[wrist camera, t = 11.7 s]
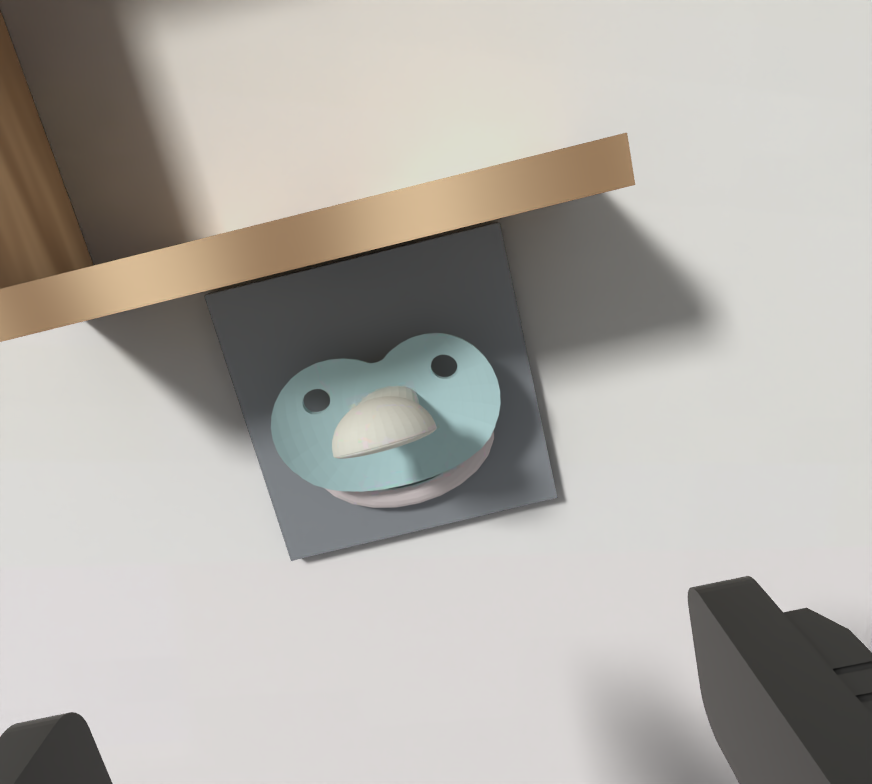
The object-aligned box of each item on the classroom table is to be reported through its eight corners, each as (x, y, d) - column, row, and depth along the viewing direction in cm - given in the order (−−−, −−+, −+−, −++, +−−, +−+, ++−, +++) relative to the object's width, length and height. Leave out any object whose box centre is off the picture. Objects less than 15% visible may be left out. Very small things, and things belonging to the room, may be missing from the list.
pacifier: (516, 468, 26) (475, 309, 24) (551, 557, 20) (500, 355, 18) (321, 520, 26) (266, 367, 24) (297, 624, 20) (223, 431, 18)
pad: (497, 222, 24) (499, 222, 23) (554, 491, 27) (557, 497, 26) (208, 293, 24) (204, 295, 24) (293, 553, 27) (291, 560, 26)
